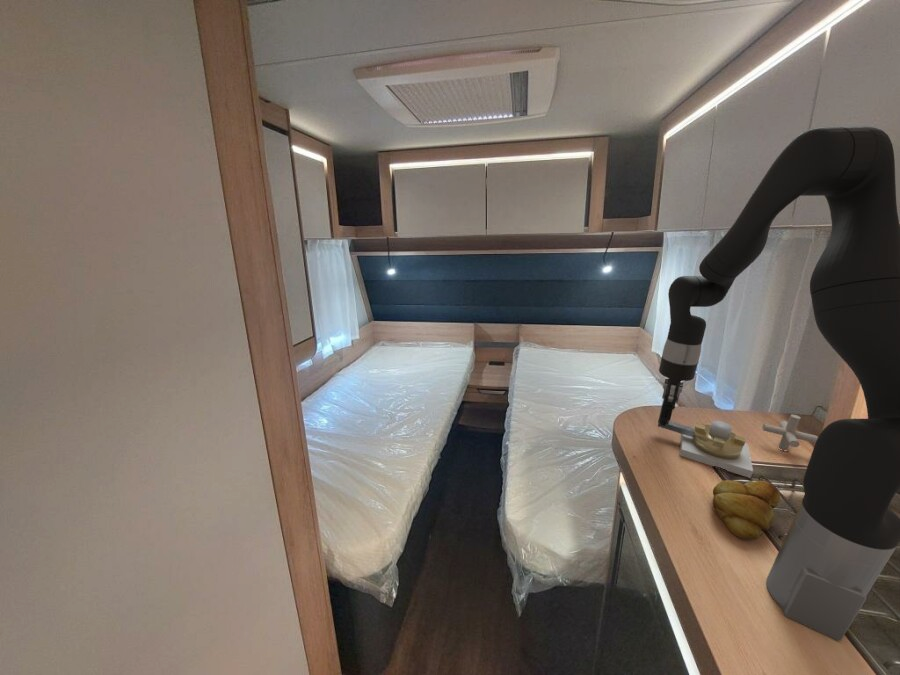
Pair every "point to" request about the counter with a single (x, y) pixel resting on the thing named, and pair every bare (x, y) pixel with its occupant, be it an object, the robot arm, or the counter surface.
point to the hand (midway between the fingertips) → (665, 418)
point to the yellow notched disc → (707, 439)
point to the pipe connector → (789, 433)
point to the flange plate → (737, 465)
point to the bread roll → (746, 506)
